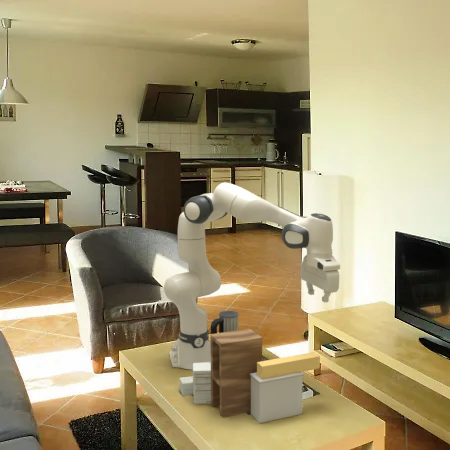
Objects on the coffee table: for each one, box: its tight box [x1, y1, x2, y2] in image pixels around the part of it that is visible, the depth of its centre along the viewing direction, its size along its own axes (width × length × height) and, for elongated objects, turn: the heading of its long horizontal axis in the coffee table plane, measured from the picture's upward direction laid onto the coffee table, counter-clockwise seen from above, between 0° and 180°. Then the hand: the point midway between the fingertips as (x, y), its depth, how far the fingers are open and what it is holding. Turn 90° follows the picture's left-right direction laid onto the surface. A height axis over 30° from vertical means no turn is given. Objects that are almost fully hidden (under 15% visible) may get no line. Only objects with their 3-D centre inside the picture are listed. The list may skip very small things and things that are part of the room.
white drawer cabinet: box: [192, 362, 211, 405], centre depth 212 cm, size 7×7×13 cm
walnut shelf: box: [209, 328, 263, 418], centre depth 205 cm, size 10×15×26 cm, turn 113°
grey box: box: [250, 372, 304, 424], centre depth 201 cm, size 7×16×14 cm, turn 113°
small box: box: [179, 375, 194, 397], centre depth 219 cm, size 6×6×5 cm
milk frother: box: [210, 310, 240, 334], centre depth 259 cm, size 14×16×15 cm
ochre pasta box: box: [257, 351, 321, 379], centre depth 201 cm, size 4×22×4 cm, turn 113°
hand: (318, 298), depth 210 cm, fingers open, 8 cm apart
